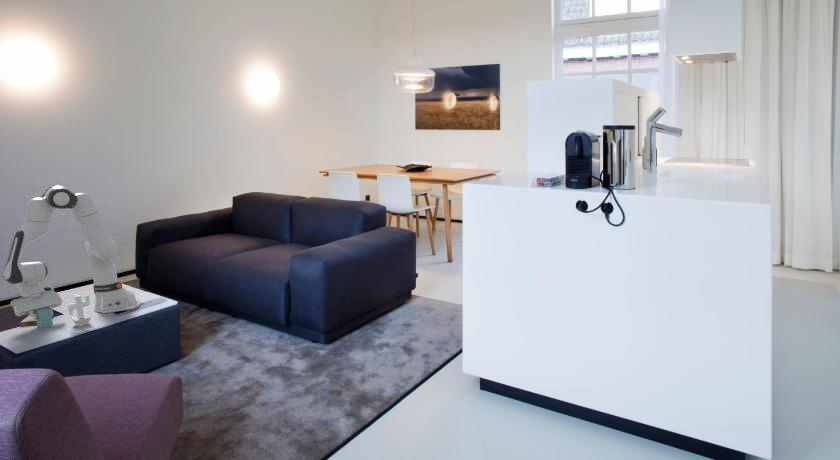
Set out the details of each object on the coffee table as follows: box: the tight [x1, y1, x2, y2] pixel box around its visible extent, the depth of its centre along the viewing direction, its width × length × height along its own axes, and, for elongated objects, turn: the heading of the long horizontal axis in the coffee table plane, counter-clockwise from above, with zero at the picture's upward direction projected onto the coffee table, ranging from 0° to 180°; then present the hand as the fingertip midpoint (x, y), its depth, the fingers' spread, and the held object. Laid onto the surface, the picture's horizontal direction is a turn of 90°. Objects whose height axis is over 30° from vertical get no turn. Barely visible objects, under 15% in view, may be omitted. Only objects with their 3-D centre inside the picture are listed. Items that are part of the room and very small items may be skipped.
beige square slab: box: [20, 313, 55, 327], centre depth 287 cm, size 11×11×2 cm
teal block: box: [34, 308, 54, 329], centre depth 280 cm, size 5×5×8 cm
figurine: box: [67, 294, 92, 328], centre depth 279 cm, size 7×9×15 cm
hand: (44, 316), depth 279 cm, fingers closed on teal block, 5 cm apart
